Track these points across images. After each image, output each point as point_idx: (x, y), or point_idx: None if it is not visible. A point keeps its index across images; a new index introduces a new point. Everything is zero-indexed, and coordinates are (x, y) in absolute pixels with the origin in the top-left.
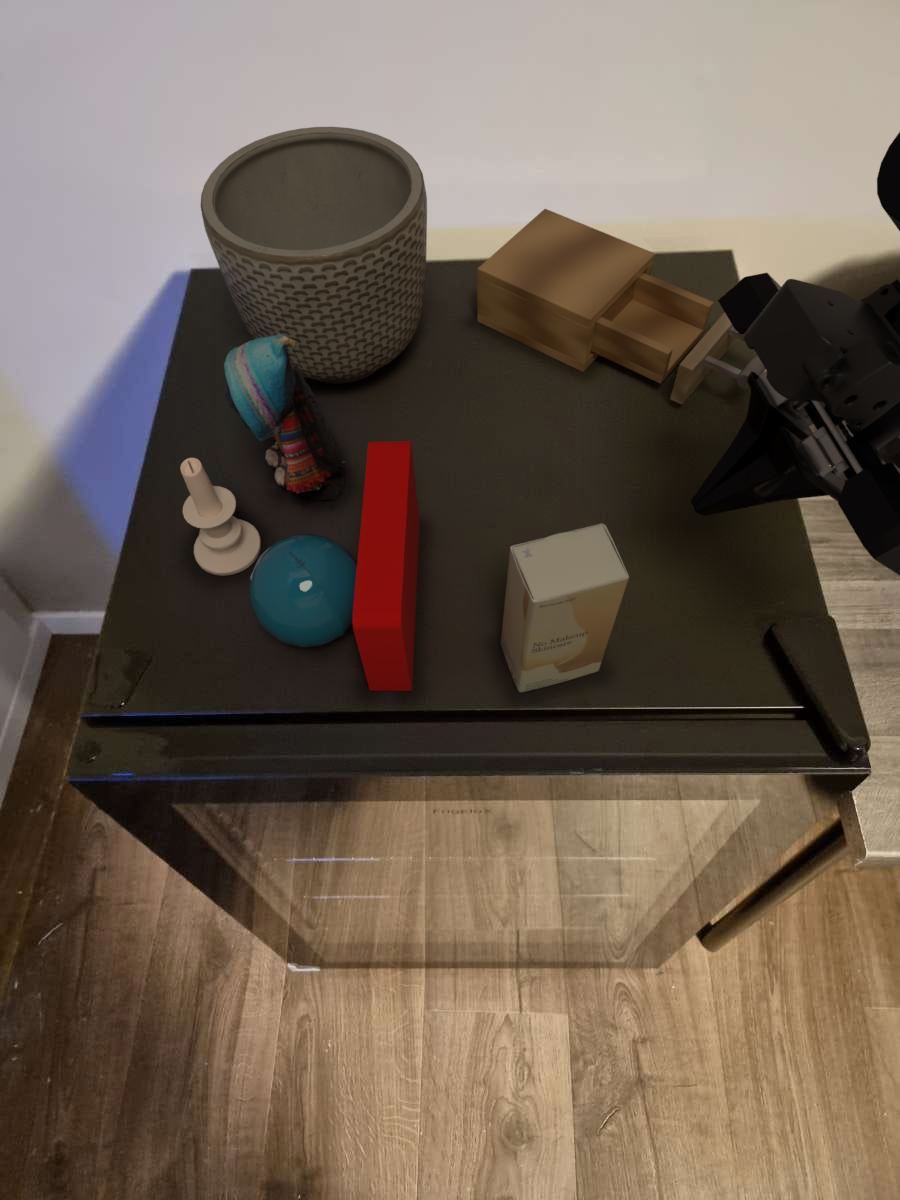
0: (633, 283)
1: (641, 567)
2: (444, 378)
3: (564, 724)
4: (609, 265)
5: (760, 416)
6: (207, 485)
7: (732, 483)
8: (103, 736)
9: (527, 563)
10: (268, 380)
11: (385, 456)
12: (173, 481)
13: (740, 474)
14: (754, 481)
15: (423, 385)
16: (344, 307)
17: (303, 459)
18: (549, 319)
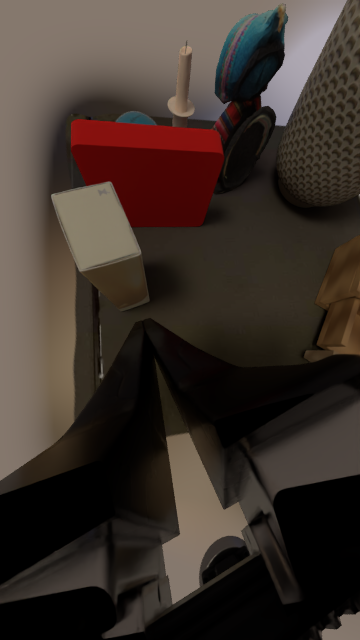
0: None
1: (188, 334)
2: (293, 234)
3: (90, 295)
4: None
5: (212, 393)
6: (182, 77)
7: (131, 351)
8: (81, 116)
9: (91, 191)
10: (247, 37)
11: (207, 139)
12: (210, 129)
13: (134, 360)
14: (103, 382)
15: (286, 225)
16: (326, 103)
17: None
18: (348, 272)
